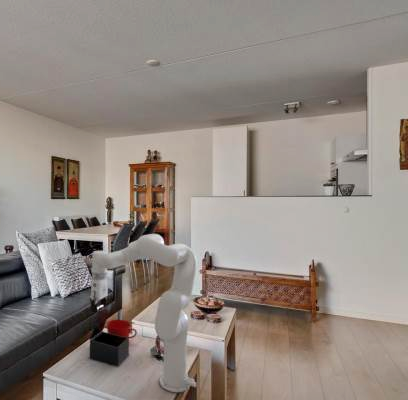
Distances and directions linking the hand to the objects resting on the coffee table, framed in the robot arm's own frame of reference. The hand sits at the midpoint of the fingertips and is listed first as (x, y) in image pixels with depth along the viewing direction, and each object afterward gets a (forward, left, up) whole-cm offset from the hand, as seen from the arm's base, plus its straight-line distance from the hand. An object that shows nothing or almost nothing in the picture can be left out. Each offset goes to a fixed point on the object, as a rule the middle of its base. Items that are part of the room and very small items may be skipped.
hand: (98, 308), depth 159 cm
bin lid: (-2, 0, -6) cm, 6 cm away
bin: (-7, 0, -23) cm, 24 cm away
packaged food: (-30, -15, -23) cm, 40 cm away
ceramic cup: (-6, -17, -23) cm, 29 cm away
